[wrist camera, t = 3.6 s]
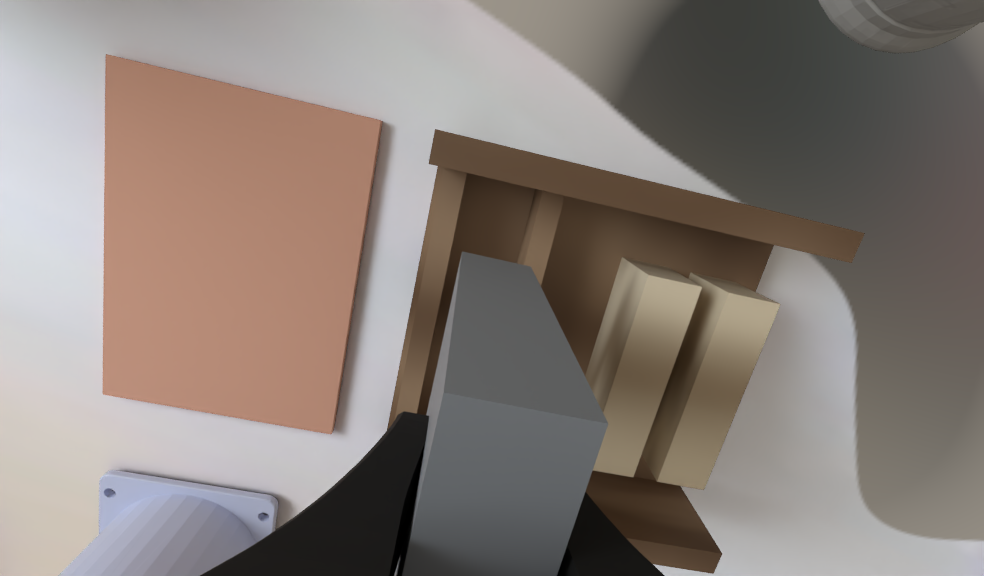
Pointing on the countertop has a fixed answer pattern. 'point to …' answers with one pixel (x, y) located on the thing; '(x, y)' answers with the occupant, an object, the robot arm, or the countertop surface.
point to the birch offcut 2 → (707, 381)
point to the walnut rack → (588, 283)
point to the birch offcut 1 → (637, 356)
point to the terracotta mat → (230, 245)
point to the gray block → (501, 434)
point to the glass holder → (903, 21)
